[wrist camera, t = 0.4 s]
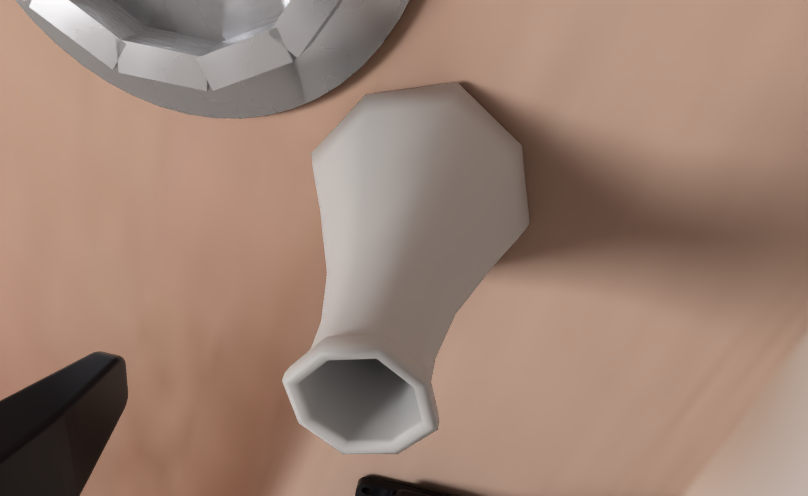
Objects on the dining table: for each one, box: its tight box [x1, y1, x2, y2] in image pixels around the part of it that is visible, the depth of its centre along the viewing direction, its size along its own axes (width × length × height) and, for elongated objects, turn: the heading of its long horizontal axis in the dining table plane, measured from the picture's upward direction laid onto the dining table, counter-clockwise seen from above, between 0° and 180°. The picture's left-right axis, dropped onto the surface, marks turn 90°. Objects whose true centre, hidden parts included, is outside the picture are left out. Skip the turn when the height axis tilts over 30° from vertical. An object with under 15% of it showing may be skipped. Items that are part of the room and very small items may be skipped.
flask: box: [282, 82, 530, 454], centre depth 17 cm, size 7×7×10 cm
